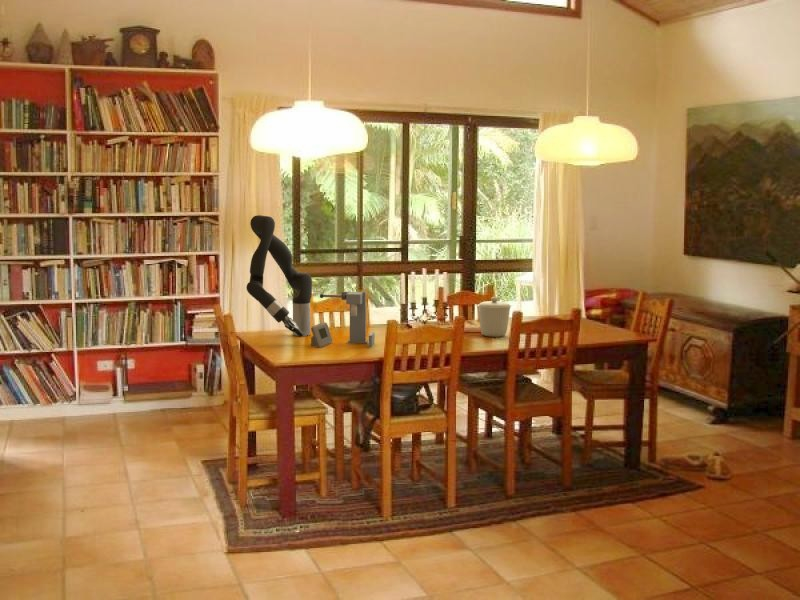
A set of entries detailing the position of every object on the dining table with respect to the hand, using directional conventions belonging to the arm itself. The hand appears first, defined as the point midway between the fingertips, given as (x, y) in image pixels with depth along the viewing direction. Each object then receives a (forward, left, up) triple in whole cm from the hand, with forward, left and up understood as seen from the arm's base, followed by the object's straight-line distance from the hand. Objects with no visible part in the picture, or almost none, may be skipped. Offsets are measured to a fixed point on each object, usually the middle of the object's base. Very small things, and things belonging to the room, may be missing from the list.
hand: (302, 335), depth 432 cm
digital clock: (0, +10, -5) cm, 11 cm away
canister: (-41, +96, -5) cm, 104 cm away
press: (-2, +27, -4) cm, 28 cm away
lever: (-6, +15, +18) cm, 24 cm away
